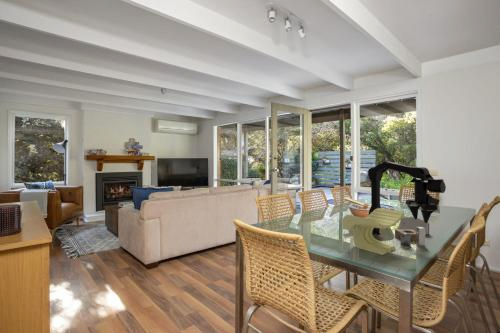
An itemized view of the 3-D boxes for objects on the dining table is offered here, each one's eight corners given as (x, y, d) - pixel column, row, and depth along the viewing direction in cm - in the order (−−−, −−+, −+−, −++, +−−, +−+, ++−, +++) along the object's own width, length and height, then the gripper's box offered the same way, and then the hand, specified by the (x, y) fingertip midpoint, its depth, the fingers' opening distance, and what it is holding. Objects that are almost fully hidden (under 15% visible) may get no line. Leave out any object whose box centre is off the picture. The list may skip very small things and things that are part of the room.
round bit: (403, 246, 137) (403, 234, 137) (398, 243, 142) (399, 232, 142) (412, 246, 137) (412, 234, 137) (407, 243, 142) (407, 232, 141)
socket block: (403, 241, 145) (403, 234, 145) (394, 236, 155) (394, 229, 155) (422, 241, 145) (422, 234, 144) (412, 236, 155) (412, 229, 154)
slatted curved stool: (373, 238, 151) (374, 207, 150) (403, 245, 138) (404, 211, 137) (342, 249, 133) (342, 213, 132) (373, 259, 120) (373, 219, 119)
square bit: (418, 245, 138) (419, 228, 138) (415, 243, 141) (416, 226, 141) (424, 245, 138) (425, 228, 138) (421, 243, 141) (421, 226, 141)
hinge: (396, 229, 169) (399, 214, 171) (400, 231, 172) (402, 216, 173) (426, 236, 155) (428, 219, 157) (429, 237, 158) (432, 220, 160)
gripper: (449, 193, 130) (448, 225, 130) (425, 189, 148) (425, 217, 149) (425, 193, 130) (425, 225, 131) (405, 189, 149) (405, 217, 149)
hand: (420, 221), depth 140 cm, fingers open, 9 cm apart
